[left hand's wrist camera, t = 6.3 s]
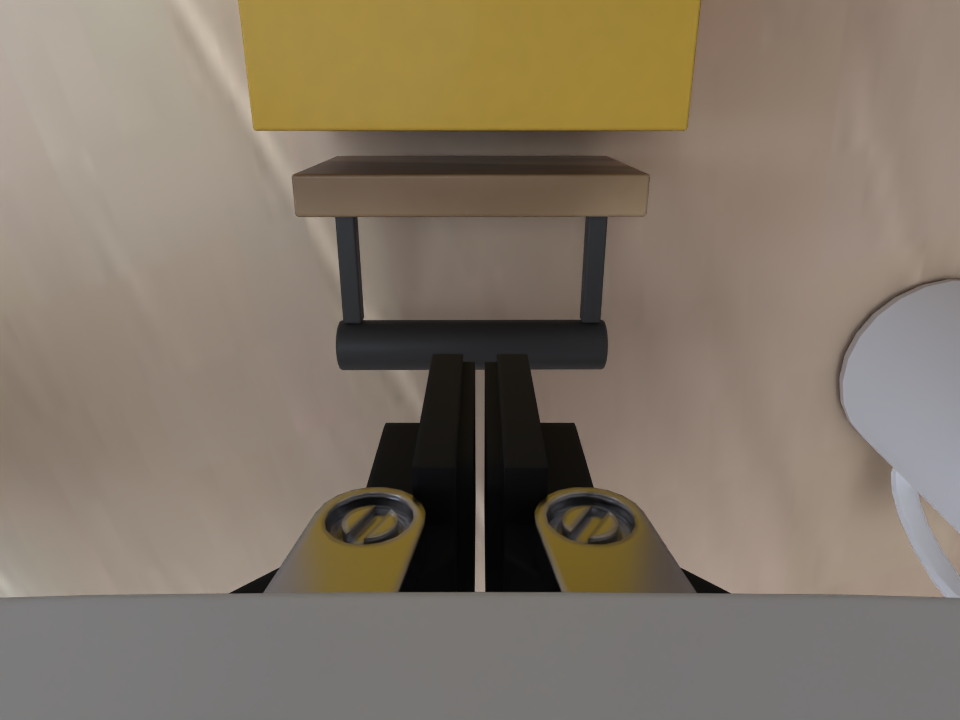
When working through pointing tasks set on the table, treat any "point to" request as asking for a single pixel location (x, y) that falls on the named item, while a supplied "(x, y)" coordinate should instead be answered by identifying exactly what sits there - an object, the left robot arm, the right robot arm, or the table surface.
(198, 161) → the table surface
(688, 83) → the cabinet
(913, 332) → the mug
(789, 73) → the table surface
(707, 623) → the left robot arm
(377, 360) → the drawer
